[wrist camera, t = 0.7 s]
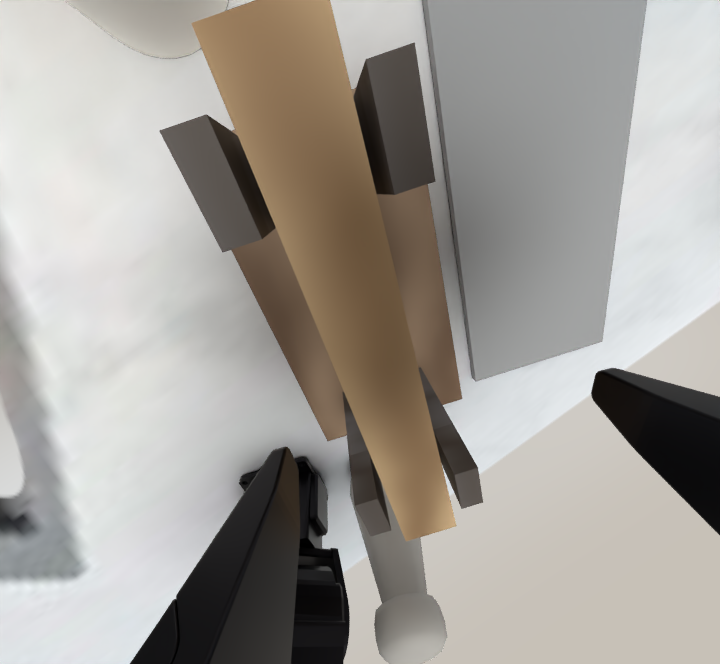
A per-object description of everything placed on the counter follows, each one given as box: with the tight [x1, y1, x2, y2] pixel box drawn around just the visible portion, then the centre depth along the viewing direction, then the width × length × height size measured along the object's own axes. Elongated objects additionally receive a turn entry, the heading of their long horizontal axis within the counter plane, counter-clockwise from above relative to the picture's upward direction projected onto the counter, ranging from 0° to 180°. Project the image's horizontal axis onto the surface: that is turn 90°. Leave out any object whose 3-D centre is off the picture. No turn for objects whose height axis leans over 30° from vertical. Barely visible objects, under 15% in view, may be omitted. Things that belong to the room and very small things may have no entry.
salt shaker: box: [350, 478, 447, 664], centre depth 22 cm, size 6×6×13 cm
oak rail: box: [191, 0, 456, 541], centre depth 12 cm, size 3×22×3 cm, turn 17°
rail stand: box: [160, 43, 483, 537], centre depth 15 cm, size 12×22×10 cm, turn 17°
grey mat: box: [422, 0, 647, 381], centre depth 18 cm, size 11×24×1 cm, turn 17°
